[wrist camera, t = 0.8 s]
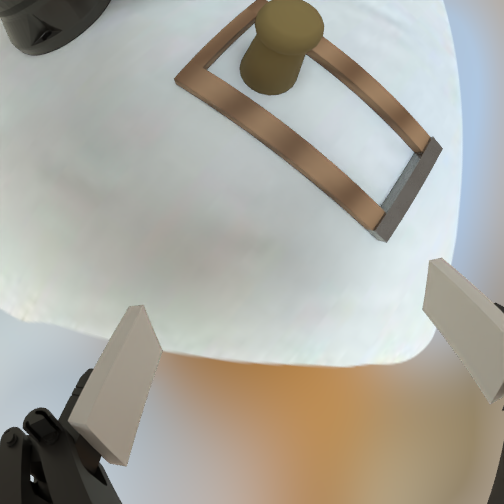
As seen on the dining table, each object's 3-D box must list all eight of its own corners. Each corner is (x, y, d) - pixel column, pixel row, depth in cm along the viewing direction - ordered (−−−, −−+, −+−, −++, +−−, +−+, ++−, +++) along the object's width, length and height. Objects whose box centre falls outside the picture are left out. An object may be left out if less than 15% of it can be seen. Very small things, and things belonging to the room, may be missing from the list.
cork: (304, 59, 26) (343, 6, 15) (287, 103, 27) (324, 59, 16) (251, 39, 25) (268, -22, 14) (231, 83, 26) (239, 28, 15)
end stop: (365, 228, 30) (374, 231, 28) (422, 138, 29) (432, 136, 27) (377, 239, 31) (386, 242, 29) (432, 150, 29) (442, 148, 27)
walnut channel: (175, 83, 25) (173, 78, 24) (258, 4, 24) (260, -3, 22) (365, 228, 30) (372, 230, 29) (422, 138, 29) (430, 137, 28)
